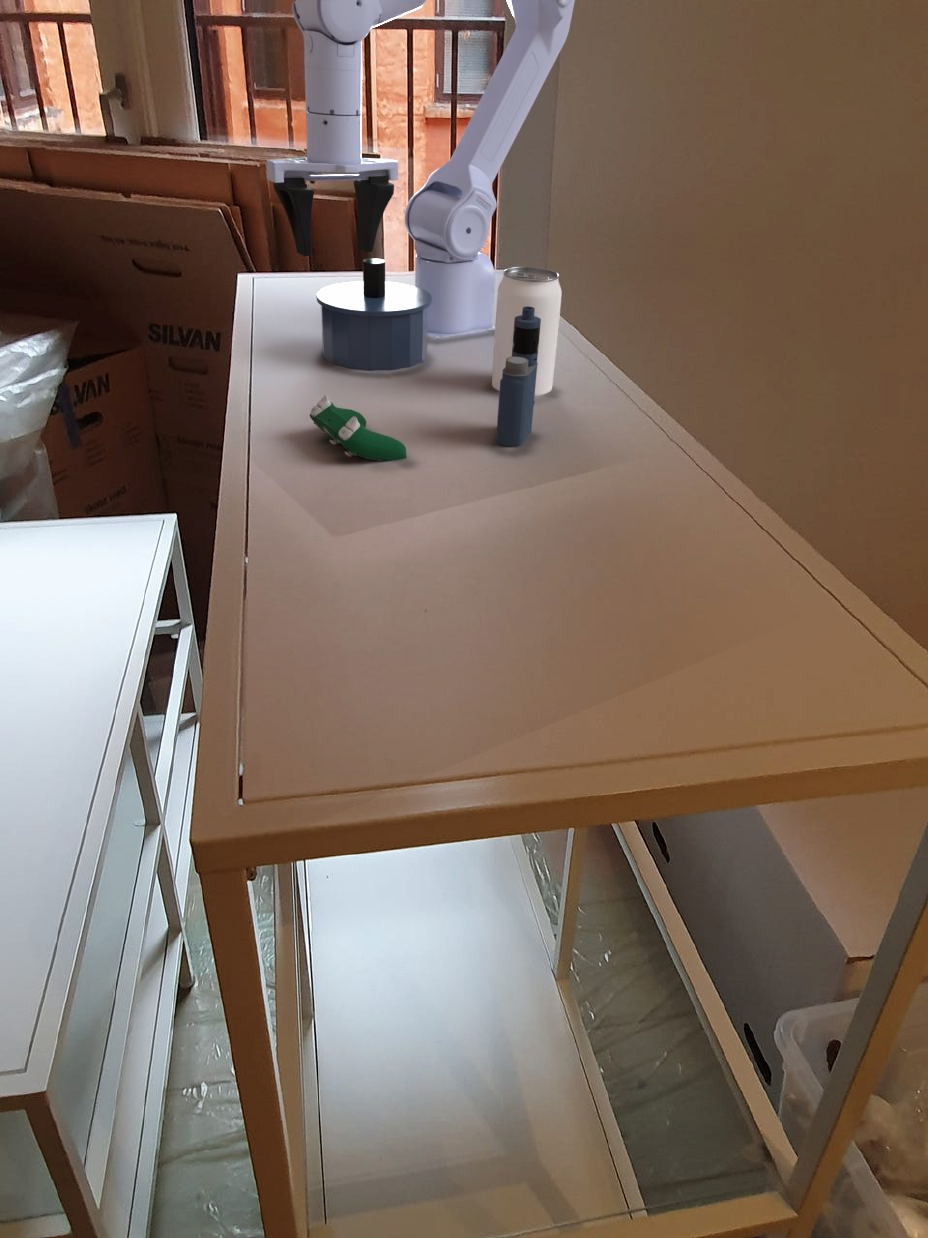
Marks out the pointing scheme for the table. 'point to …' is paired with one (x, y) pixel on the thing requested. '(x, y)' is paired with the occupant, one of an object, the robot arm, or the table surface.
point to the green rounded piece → (355, 433)
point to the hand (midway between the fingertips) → (335, 252)
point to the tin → (374, 340)
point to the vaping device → (519, 382)
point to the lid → (374, 294)
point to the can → (545, 297)
